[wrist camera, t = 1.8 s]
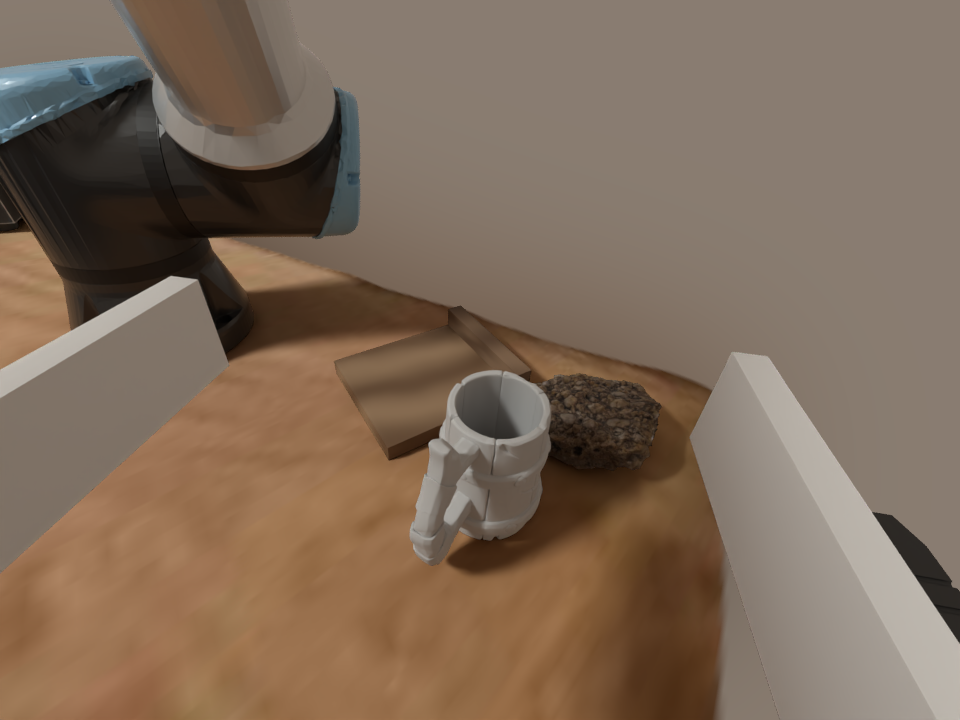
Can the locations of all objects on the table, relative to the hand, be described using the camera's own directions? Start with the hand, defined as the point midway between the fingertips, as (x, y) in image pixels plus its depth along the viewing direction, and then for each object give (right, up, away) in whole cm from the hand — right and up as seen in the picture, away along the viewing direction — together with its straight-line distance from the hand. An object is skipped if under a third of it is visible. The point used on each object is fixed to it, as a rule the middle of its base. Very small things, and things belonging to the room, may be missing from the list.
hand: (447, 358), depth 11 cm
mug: (0, -11, +20) cm, 23 cm away
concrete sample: (+10, -7, +27) cm, 29 cm away
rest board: (-4, -2, +30) cm, 30 cm away
